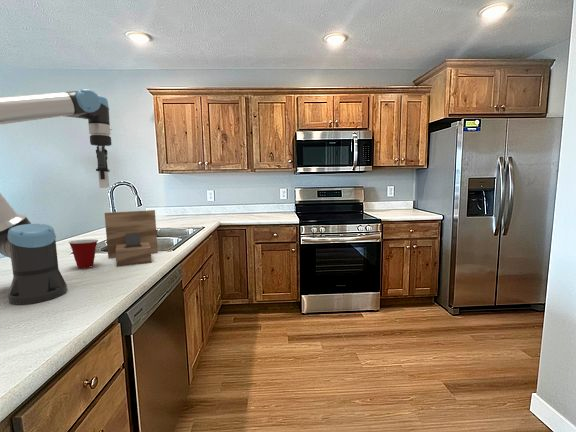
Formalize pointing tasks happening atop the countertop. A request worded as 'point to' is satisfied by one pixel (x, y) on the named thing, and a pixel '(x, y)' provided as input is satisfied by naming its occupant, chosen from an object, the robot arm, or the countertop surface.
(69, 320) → the countertop surface
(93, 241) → the plastic cup
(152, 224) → the wooden panel stand
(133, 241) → the dark grey rectangular post
